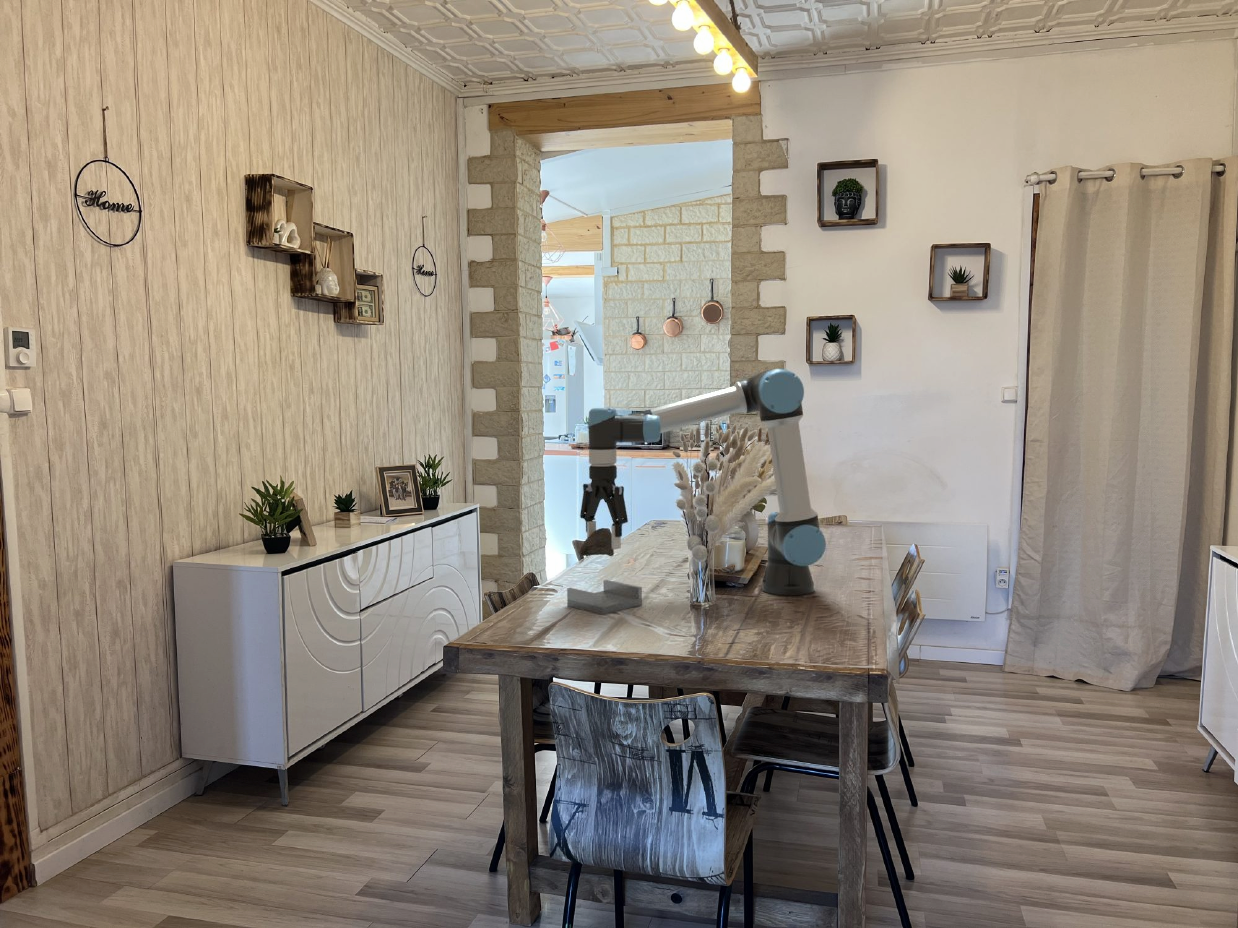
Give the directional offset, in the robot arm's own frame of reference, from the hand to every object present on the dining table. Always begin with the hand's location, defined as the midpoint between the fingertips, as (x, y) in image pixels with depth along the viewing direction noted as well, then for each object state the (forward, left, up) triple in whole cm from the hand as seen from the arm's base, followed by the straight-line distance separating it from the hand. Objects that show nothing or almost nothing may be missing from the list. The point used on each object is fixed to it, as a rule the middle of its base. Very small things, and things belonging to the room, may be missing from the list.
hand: (603, 546), depth 246 cm
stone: (+1, +1, -2) cm, 3 cm away
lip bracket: (0, 0, -16) cm, 16 cm away
